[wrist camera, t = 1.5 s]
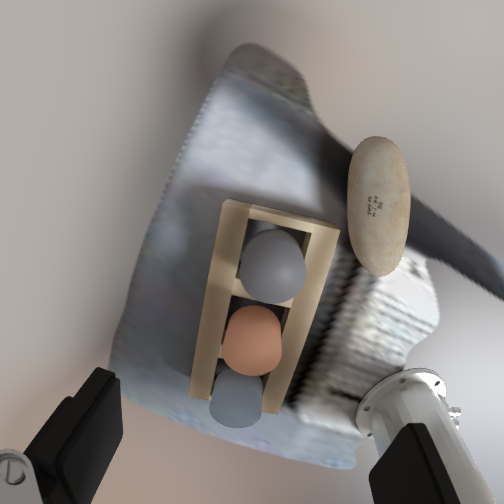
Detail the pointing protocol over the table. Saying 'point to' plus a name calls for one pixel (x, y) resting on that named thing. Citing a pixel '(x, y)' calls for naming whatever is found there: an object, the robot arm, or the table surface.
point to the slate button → (236, 399)
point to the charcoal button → (272, 267)
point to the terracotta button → (252, 341)
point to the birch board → (228, 283)
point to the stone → (378, 204)
